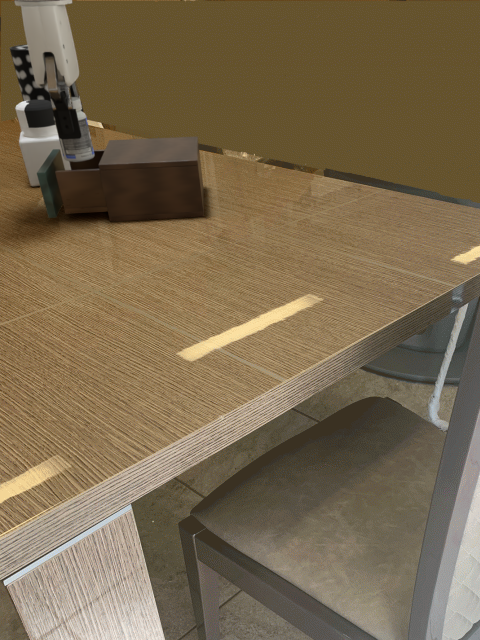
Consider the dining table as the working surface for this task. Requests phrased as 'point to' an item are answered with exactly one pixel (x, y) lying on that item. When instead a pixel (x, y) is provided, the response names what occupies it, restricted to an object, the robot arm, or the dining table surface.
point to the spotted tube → (27, 75)
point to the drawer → (72, 185)
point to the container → (37, 136)
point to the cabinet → (152, 179)
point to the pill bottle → (78, 147)
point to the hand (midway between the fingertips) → (73, 132)
